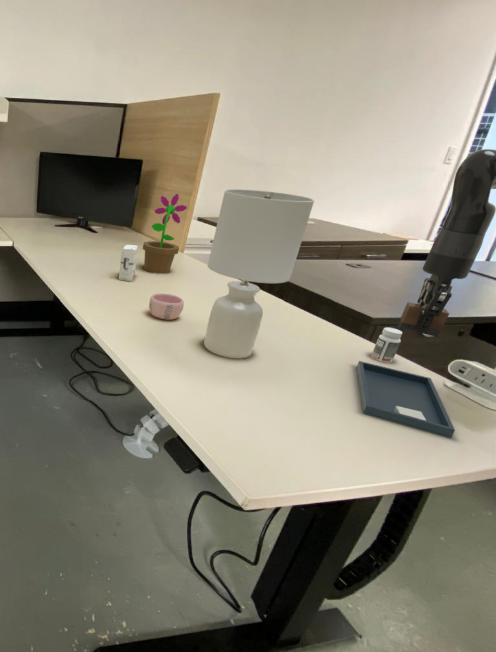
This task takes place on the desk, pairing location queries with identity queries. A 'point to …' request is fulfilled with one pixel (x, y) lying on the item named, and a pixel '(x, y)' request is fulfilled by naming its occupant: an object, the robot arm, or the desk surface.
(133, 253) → the ink box
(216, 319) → the lamp
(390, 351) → the pill bottle
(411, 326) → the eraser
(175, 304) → the pink bowl
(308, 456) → the desk surface
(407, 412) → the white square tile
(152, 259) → the flowerpot
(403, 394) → the tray
